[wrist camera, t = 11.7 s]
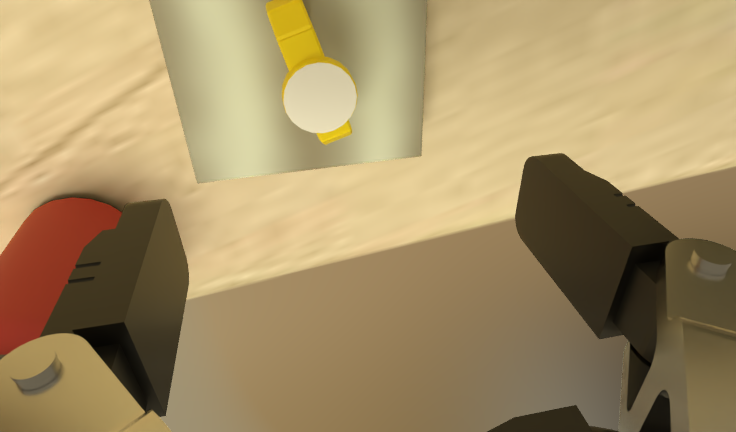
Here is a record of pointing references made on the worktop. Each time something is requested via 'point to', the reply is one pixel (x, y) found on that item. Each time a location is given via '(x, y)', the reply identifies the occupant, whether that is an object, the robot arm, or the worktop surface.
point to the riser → (267, 73)
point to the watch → (311, 75)
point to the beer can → (44, 264)
